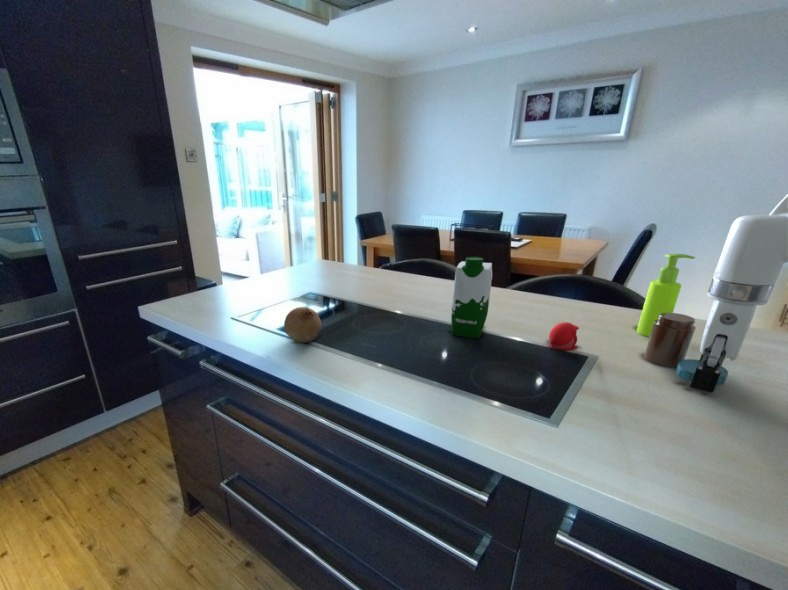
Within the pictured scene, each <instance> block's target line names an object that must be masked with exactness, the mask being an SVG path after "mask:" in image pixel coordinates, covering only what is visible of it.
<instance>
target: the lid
mask: <svg viewBox="0 0 788 590" xmlns="http://www.w3.org/2000/svg"><path fill="white" fill-rule="evenodd" d="M700 363H701V360H700V359H693V358H689V359H688V358H687V359H685V360H682V361H680V362H679V363H678V366H677V367H675V374H676V375H677V376H678V377H679V378H681V379H682V380H685V381H687V382H689V383H691V382H692V379H693V376H694V374H695V371H696V368H697V367H699V366H700ZM720 372H721V374H720V376H719V379H718V381H717V384H716V386H715V387H717V386H722V385H724V384H725V383H726V381H727V378H728V376H729V370H727V369H726V368H725V367H724V366H722V367H721V369H720Z"/></svg>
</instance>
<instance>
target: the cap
mask: <svg viewBox="0 0 788 590" xmlns="http://www.w3.org/2000/svg"><path fill="white" fill-rule="evenodd" d="M579 329H580V327H579V326H577V325H575V324H573V323H572V322H568V321H567V322H566V321H564V322H563V321H562V322H560V323H557V324H556V325H554V326H553V327H552V328H551V330H550V331H549V334H548V344H549V347H550V348H551V349H553V350H555V351H561V352H562V351H563V352H568V351H569V352H570V351H573V350H577V349H578V345H576V344H577V342H578V335H577V331H578V330H579Z"/></svg>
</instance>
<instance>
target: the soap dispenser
mask: <svg viewBox="0 0 788 590" xmlns="http://www.w3.org/2000/svg"><path fill="white" fill-rule="evenodd" d="M664 258H667V262H666V266H663V267H661V268H660V271H659V274H658V277H657V279H656V280H651V281H650V282H649V285H648V288H647V291H646V292H647V293H646V296H645V300H644V303H643V306H642V310H641V313H640V318H639V320H638V324H637V328H636V333H638V335H641V336H644V337H648V338H650V335H651V331H652V328H653V325H654V321H655V320H658V317H659V314H661V313H674V311H675V307H676V304H677V301H678V298H679V295H680V291H681V288H682V283H679V282H676V281H677V279H678V275H679V273H680V269H679V268H678V267H677V263H678V260H679V259H692V260H694V259H696V256H693V255H690V254H685V253H668V254H667V253H666V254H665V255H664Z"/></svg>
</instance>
